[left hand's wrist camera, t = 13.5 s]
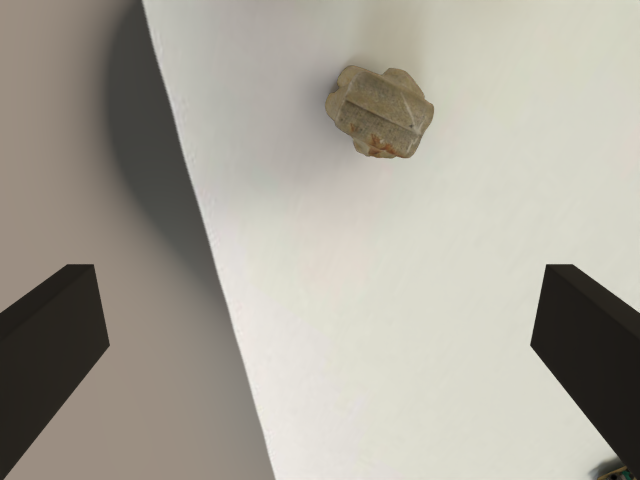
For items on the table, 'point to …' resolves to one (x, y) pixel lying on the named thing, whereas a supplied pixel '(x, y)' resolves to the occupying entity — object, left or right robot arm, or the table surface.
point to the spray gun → (618, 475)
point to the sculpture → (380, 111)
